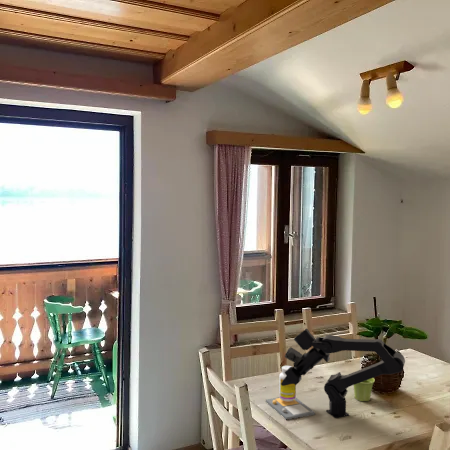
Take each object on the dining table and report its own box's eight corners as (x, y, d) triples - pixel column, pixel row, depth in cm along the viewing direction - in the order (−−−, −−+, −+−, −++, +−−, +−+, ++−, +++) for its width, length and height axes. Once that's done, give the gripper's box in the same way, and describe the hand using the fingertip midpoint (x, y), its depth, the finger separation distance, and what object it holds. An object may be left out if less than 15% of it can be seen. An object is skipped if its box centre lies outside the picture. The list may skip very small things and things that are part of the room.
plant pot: (377, 397, 208) (377, 377, 207) (369, 405, 200) (370, 384, 199) (355, 392, 213) (356, 372, 212) (347, 399, 205) (348, 379, 205)
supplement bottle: (297, 401, 198) (297, 370, 197) (281, 402, 197) (281, 371, 196) (293, 394, 204) (293, 364, 203) (277, 395, 204) (277, 365, 203)
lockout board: (314, 414, 191) (314, 409, 191) (286, 420, 187) (286, 414, 186) (292, 397, 207) (292, 392, 207) (265, 401, 202) (265, 397, 202)
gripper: (303, 336, 206) (278, 359, 211) (290, 349, 189) (263, 373, 194) (322, 357, 203) (296, 379, 208) (310, 372, 186) (282, 396, 192)
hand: (284, 381), depth 201 cm, fingers closed on supplement bottle, 7 cm apart
